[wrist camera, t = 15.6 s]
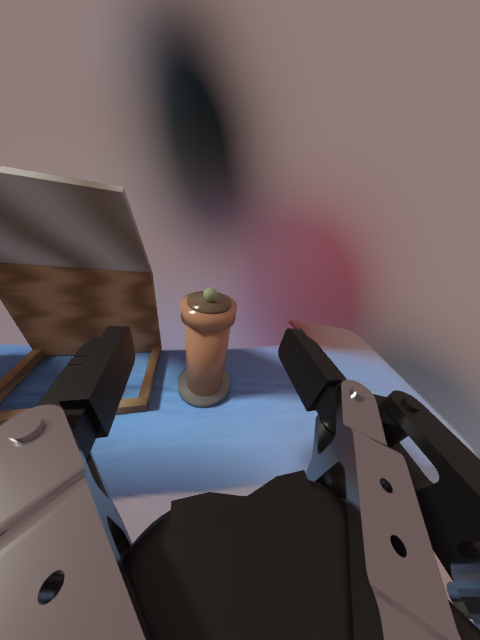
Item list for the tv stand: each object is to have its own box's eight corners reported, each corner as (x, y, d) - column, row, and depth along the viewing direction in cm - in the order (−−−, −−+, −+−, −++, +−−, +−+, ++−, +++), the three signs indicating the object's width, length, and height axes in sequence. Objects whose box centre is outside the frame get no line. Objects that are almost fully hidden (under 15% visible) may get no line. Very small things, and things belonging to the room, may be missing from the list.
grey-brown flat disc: (195, 419, 21) (195, 415, 20) (169, 379, 25) (168, 375, 24) (239, 388, 25) (240, 385, 24) (211, 358, 29) (211, 355, 29)
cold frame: (-41, 432, 17) (-537, 72, 5) (41, 351, 26) (-79, 153, 14) (147, 410, 21) (92, 181, 9) (161, 347, 30) (142, 190, 18)
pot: (197, 408, 21) (201, 307, 14) (176, 376, 24) (169, 281, 17) (233, 384, 24) (251, 294, 17) (210, 359, 28) (217, 275, 20)
